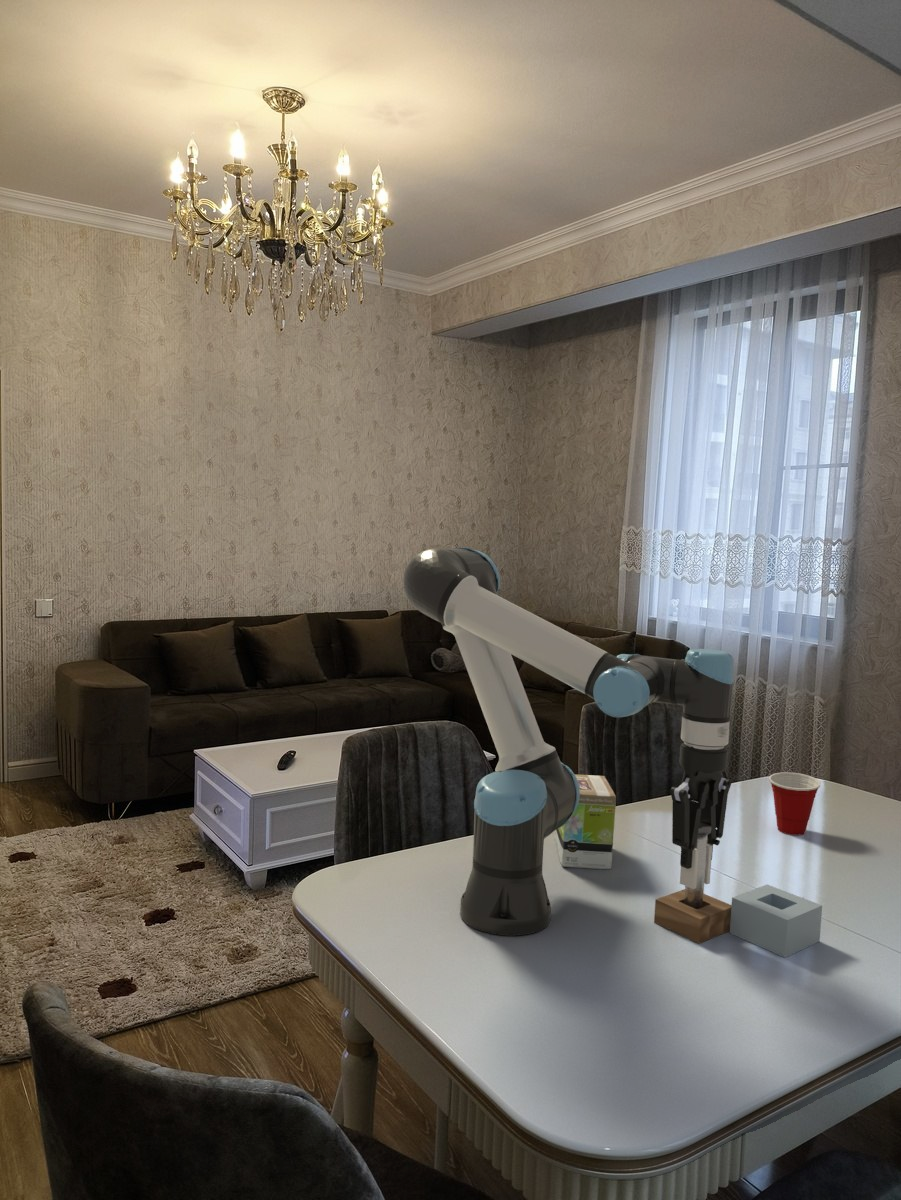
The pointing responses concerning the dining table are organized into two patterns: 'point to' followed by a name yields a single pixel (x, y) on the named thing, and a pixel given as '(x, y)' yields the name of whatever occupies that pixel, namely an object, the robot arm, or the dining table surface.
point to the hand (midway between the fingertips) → (694, 883)
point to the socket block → (776, 920)
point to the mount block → (693, 916)
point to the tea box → (589, 826)
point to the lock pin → (699, 869)
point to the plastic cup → (793, 800)
